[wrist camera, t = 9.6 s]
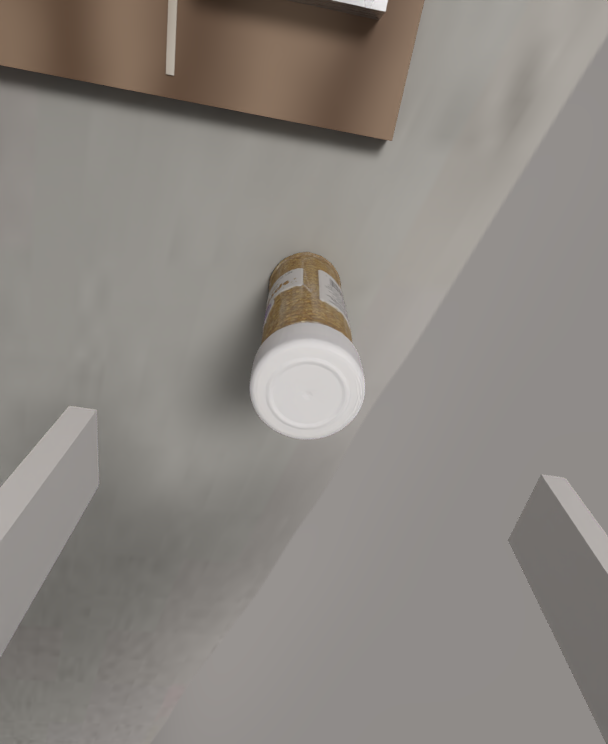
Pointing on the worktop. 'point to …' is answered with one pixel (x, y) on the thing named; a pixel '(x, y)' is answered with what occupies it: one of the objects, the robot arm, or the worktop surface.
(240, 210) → the worktop surface
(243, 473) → the worktop surface
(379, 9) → the socket
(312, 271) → the sprinkles bottle
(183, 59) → the board
